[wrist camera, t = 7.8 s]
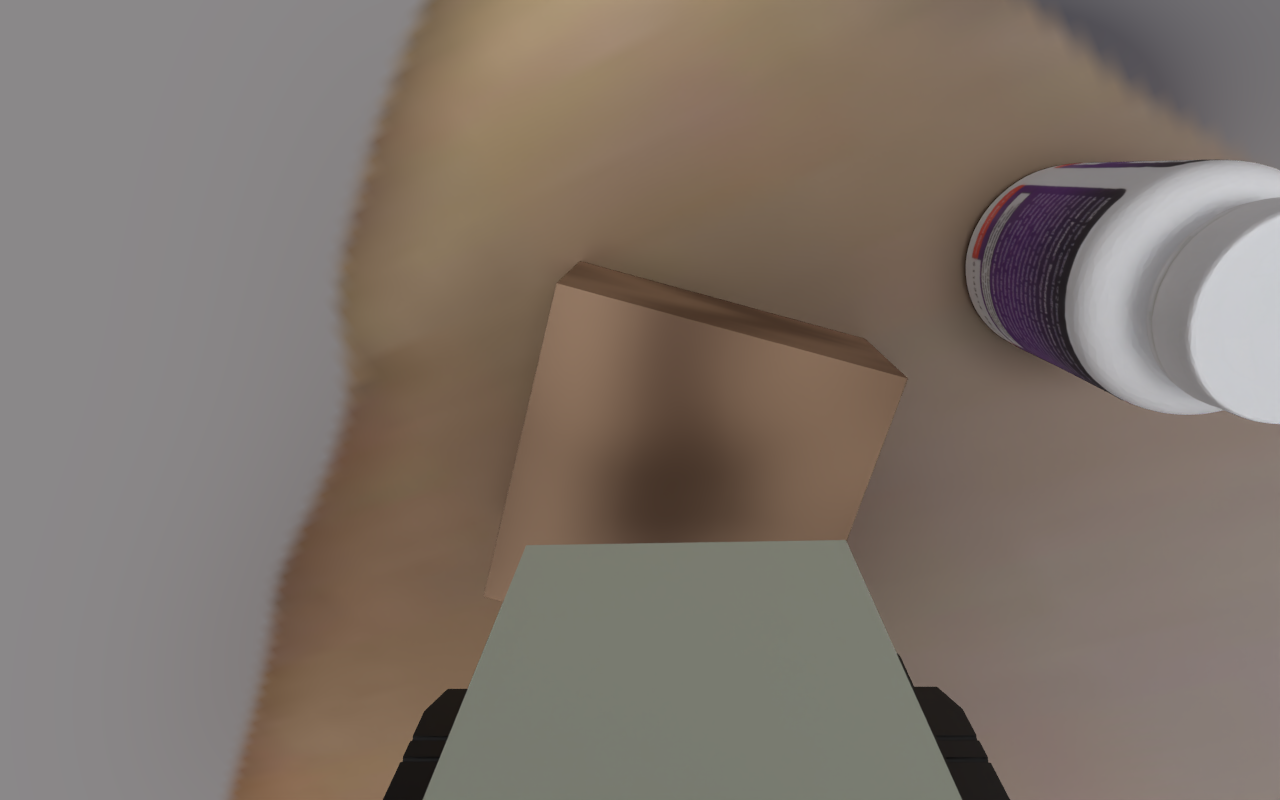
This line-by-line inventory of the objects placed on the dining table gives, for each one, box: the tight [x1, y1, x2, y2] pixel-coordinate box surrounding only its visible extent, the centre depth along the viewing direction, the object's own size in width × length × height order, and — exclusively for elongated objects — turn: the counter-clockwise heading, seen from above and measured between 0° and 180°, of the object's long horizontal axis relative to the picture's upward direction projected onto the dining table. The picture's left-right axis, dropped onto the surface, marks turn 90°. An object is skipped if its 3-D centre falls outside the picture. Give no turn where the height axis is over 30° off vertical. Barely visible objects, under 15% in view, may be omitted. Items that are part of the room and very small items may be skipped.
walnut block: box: [483, 261, 908, 602], centre depth 23 cm, size 9×9×5 cm
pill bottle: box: [966, 160, 1280, 424], centre depth 19 cm, size 5×5×10 cm
